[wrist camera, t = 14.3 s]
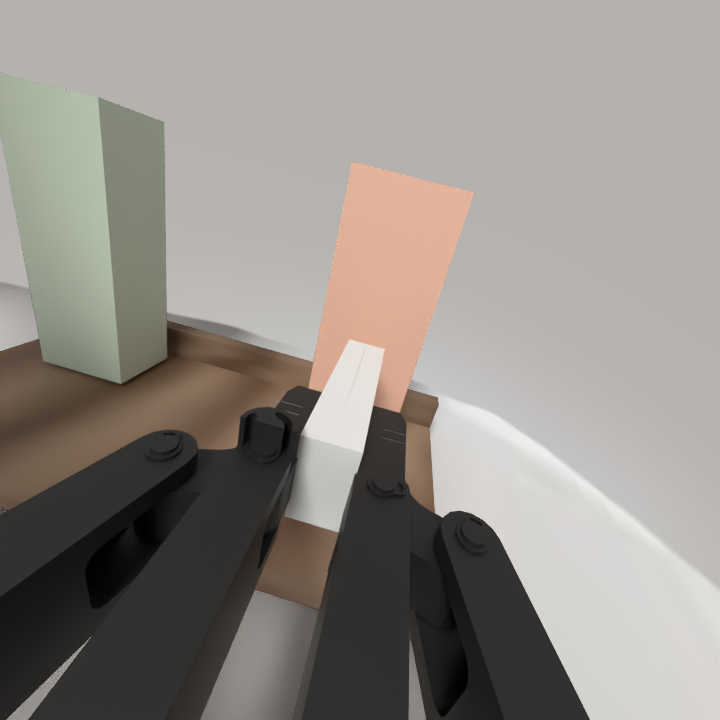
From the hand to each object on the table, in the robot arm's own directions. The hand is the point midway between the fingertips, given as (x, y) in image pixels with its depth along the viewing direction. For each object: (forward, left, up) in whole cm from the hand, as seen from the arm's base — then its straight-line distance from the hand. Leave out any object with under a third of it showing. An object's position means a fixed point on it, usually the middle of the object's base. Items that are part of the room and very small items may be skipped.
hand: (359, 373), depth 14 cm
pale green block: (-16, +5, -6) cm, 18 cm away
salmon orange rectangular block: (0, +5, -6) cm, 8 cm away
